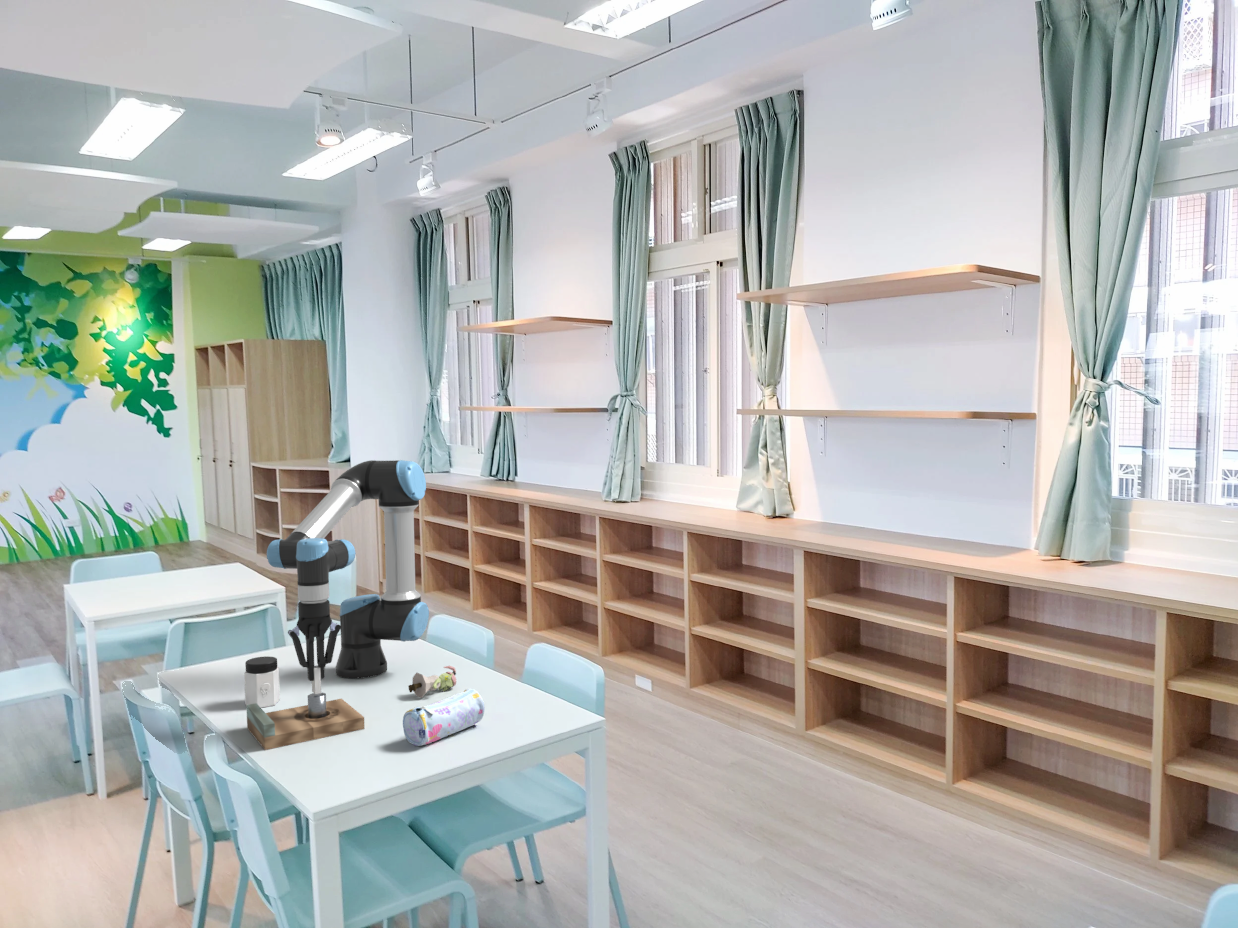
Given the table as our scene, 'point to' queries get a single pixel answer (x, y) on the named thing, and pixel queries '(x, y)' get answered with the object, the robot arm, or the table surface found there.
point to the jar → (262, 681)
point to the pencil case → (443, 717)
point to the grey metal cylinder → (317, 706)
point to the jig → (301, 724)
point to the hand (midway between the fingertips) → (316, 692)
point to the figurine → (432, 682)
